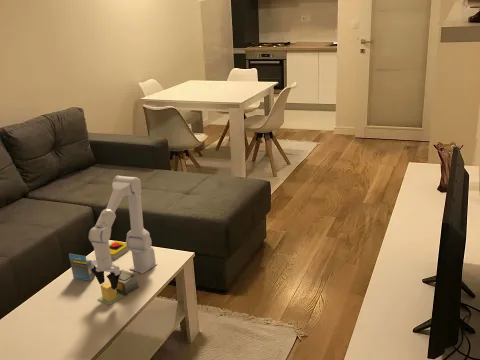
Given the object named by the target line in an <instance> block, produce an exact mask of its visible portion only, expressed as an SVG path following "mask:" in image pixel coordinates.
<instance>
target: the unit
mask: <svg viewBox="0 0 480 360" xmlns="http://www.w3.org/2000/svg"><path fill="white" fill-rule="evenodd" d="M120 271H121V274H120V277H119V280H118V287H117V288H116V291H117V293H118V294H120V293H121V294H120V295H123V296H126V297H127V296H129V295H131V293H133V292H134V291H136V290H138V289H139V288H140V286H139V285H140V284H139V278H138V274H135V273H133V272H130V271H128V270H124V269H120Z"/></svg>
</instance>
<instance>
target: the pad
mask: <svg viewBox="0 0 480 360" xmlns="http://www.w3.org/2000/svg"><path fill="white" fill-rule="evenodd" d="M123 297H124V295H123V294H120V293H118V292H117V297H116V298H114V299H113V300H111V301H110V302H109V301H107V300H105V299H103V297H102V296H100V297H99V298H97V301H99V302H101V303H104V304H106V305H108V306H111V305H112V304H114V303H115V302H117V301H118V300H120V299H121V298H123Z"/></svg>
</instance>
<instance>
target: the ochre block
mask: <svg viewBox="0 0 480 360" xmlns="http://www.w3.org/2000/svg"><path fill="white" fill-rule="evenodd" d="M100 290H101V297H103V299H105V300H107V301H109V302H110V301H111V300H113V299H114V298H116V297H117V293H118V292H116V289H114V290H113V289H112V287H111V283H110V281H109V280H107V281H105V282H104V283H102V284H100Z"/></svg>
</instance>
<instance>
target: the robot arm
mask: <svg viewBox="0 0 480 360" xmlns="http://www.w3.org/2000/svg"><path fill="white" fill-rule="evenodd" d="M111 187H112V192H111V195H110V198H109V200H108V203H107V206H106V208H105V209H103V210H102V211H101V212H100V215H99V217H98V218H97V221H96V224H95V225H94V226H93V227H92V228H90V229H89V232H88V240H89V242H90V243H91V245H92V247H93V250H94V255H95V256H94V257H95V259H94V260H92V262H91V266H93V268H92V269H91V271H92V272H93V274H94V275H95V278H96V280H97V282H98V283H99V285H103V284H104V283H105V282H106V281H105V279H106V278H107V279H108V281H110V283H111V287H112V289H113V290H114V289H116V288H117V287H118V280H119V277H120V274H121V271H120V270H121V269H120V268H119V269H118V268H117V267H116V266H117V265H115V264H114V263H113V261H112V259H111V254H110V248H109V244H110V242H109V241H110V239H111V235H112V234H111V233H112V227H113V224H114V222H115V219H117V218H116V217H117V215H116V211H117V209H118V208H119V206H120V204H121V202H122V200H123V198H124V197H127V196H128V197H127V199H128V212H129V220H130V221H129V222H130V230H129V231H128V232H127V233H126V239H125V243H126V245H127V247H128V248H130V250H129V251H130V252H131V255H132V264H133V266H130V267H129V269H130V270H132V271H135V272H137V273H140V274H144V273H146V272H147V271H148V270H151V269H153V267H155V266H156V265H158V263H157V262H156V256H155V249H154V248H153V247H152V242H153V241H152V238H151V236H150V234H151V232H149V231H148V230H147V229H145V228H144V219H143V217H144V216H143V209H142V206H143V204H142V196H141V194H142V181H141V179H140V178H139V177H137V176H124V175H116V176H114V178H113V180H112V183H111ZM105 272H107V273H109V274H107V275H106V278H105ZM110 272H111V274H110Z"/></svg>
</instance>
